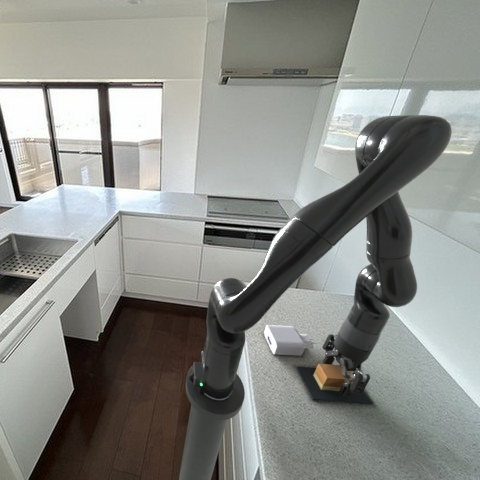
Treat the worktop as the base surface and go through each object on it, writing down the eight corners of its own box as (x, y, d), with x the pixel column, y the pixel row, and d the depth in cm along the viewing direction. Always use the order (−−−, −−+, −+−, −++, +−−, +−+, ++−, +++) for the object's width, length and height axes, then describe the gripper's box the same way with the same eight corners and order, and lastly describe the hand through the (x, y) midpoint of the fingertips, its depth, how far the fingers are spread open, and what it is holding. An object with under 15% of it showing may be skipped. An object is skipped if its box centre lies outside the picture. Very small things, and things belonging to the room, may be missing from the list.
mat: (312, 400, 69) (313, 398, 68) (296, 367, 78) (296, 366, 77) (372, 404, 68) (373, 403, 68) (349, 371, 77) (349, 370, 77)
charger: (320, 358, 81) (273, 355, 81) (305, 335, 90) (263, 333, 89) (325, 347, 79) (277, 345, 79) (309, 325, 87) (266, 323, 87)
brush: (321, 389, 71) (327, 377, 69) (313, 375, 75) (318, 363, 73) (353, 392, 71) (360, 380, 69) (344, 377, 75) (350, 365, 73)
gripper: (326, 316, 71) (308, 357, 78) (360, 360, 59) (335, 403, 66) (353, 318, 71) (333, 359, 78) (393, 362, 58) (364, 406, 65)
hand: (334, 379), depth 72 cm, fingers open, 8 cm apart
